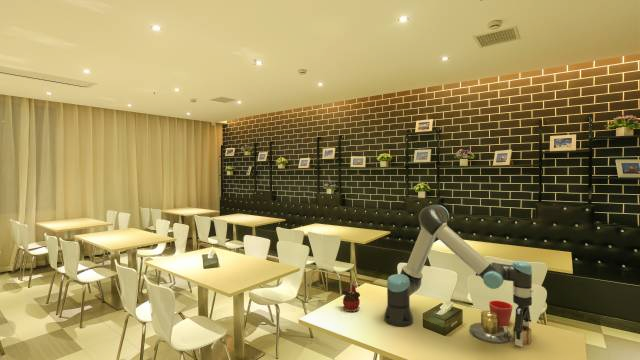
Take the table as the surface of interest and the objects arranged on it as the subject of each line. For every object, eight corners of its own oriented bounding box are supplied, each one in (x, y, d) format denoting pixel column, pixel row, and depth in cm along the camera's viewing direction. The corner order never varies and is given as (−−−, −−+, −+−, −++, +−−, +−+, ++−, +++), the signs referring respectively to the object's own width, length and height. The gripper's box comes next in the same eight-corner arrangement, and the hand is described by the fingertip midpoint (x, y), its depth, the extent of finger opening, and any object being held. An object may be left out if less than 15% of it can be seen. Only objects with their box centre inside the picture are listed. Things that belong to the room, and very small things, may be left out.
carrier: (470, 338, 157) (470, 322, 157) (469, 321, 175) (469, 307, 175) (513, 346, 150) (513, 329, 150) (508, 327, 168) (508, 312, 168)
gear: (514, 342, 154) (514, 329, 154) (512, 335, 160) (512, 323, 160) (532, 345, 151) (532, 332, 151) (529, 338, 157) (529, 325, 157)
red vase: (339, 310, 192) (339, 279, 191) (346, 304, 200) (346, 275, 199) (356, 314, 186) (355, 282, 186) (363, 308, 194) (362, 278, 194)
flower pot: (515, 328, 168) (515, 309, 168) (492, 326, 170) (492, 307, 170) (508, 319, 178) (508, 301, 178) (486, 317, 180) (486, 299, 180)
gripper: (525, 305, 143) (525, 353, 144) (537, 290, 162) (537, 333, 162) (505, 300, 149) (506, 347, 149) (519, 286, 167) (520, 328, 167)
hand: (522, 340), depth 155 cm, fingers open, 13 cm apart
